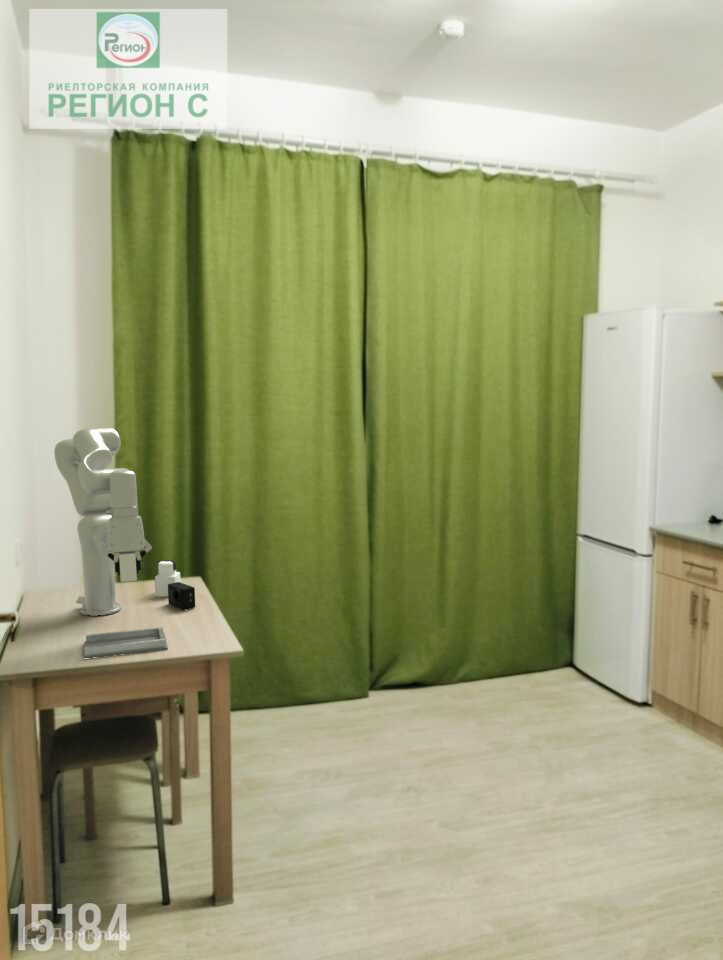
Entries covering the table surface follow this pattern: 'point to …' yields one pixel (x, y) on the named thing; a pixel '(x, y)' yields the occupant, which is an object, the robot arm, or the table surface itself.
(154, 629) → the rail guides
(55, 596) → the table surface
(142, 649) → the plate
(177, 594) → the digital camera
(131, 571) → the block
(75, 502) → the robot arm
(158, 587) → the medicine bottle
